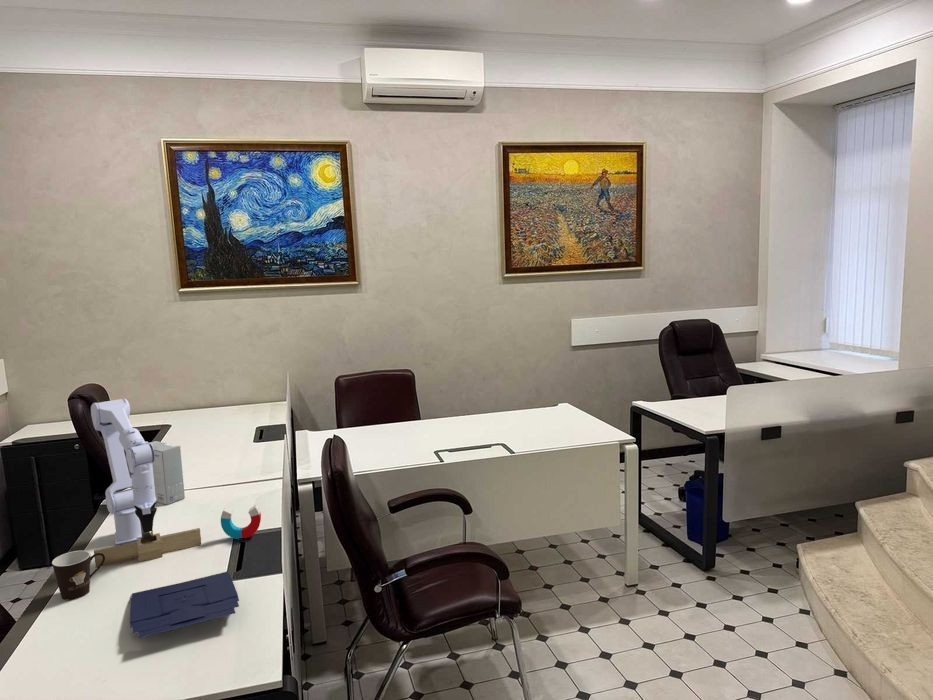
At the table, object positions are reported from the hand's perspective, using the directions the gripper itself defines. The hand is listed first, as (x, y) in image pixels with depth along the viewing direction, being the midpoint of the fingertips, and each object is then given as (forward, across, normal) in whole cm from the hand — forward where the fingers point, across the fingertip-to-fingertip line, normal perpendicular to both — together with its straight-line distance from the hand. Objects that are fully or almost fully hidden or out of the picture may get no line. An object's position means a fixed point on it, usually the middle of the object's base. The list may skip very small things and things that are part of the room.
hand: (147, 529), depth 188 cm
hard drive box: (+8, -48, +7) cm, 49 cm away
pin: (+2, 0, 0) cm, 2 cm away
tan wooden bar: (+8, 0, 0) cm, 8 cm away
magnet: (+8, +2, +26) cm, 27 cm away
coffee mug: (+8, +14, -17) cm, 24 cm away
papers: (+9, +37, +6) cm, 39 cm away
